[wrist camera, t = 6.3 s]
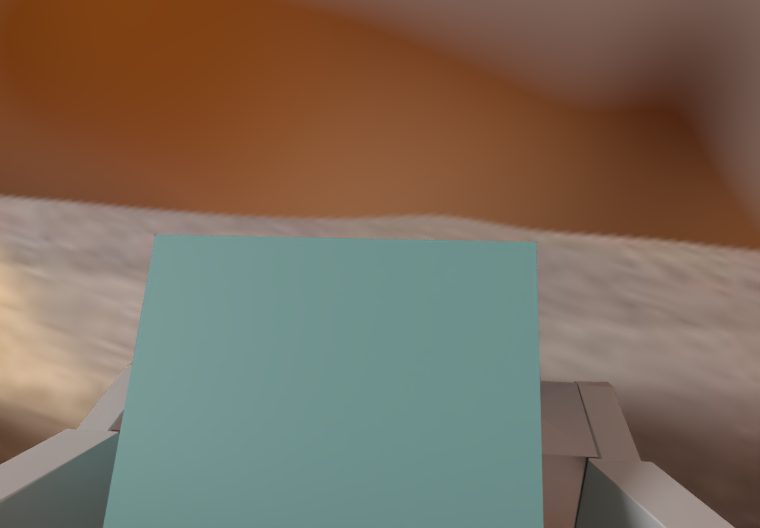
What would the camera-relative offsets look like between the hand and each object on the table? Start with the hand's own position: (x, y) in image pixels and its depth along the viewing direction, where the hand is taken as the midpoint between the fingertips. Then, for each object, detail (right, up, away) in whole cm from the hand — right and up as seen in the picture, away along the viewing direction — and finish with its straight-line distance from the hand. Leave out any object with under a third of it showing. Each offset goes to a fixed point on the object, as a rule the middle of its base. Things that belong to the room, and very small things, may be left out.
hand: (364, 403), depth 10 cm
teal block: (0, -2, +4) cm, 5 cm away
